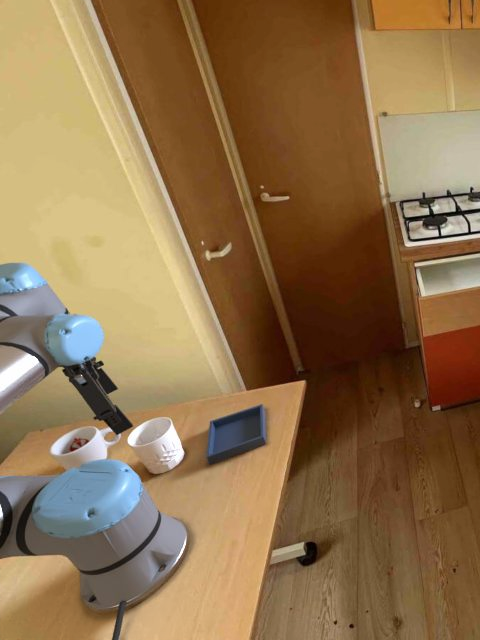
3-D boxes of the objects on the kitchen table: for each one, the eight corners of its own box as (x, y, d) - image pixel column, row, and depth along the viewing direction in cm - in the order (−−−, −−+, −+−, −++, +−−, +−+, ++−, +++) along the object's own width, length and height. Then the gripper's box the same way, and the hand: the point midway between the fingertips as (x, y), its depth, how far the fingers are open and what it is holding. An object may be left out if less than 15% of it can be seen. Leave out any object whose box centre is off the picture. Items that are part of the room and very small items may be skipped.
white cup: (155, 482, 93) (137, 452, 88) (139, 466, 96) (120, 436, 91) (194, 455, 99) (178, 426, 94) (177, 441, 102) (161, 411, 97)
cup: (123, 435, 104) (109, 412, 100) (132, 453, 99) (117, 430, 95) (63, 466, 96) (46, 442, 92) (70, 487, 92) (51, 463, 88)
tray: (266, 443, 102) (263, 436, 100) (209, 464, 97) (205, 457, 95) (265, 410, 111) (262, 403, 109) (213, 428, 106) (209, 421, 104)
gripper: (95, 363, 72) (154, 434, 84) (71, 298, 86) (124, 368, 98) (36, 389, 68) (107, 461, 80) (20, 317, 81) (83, 387, 93)
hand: (117, 410), depth 89 cm, fingers open, 13 cm apart
